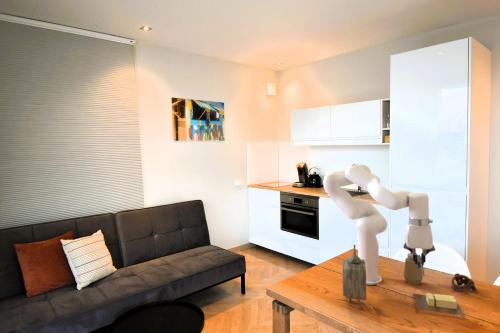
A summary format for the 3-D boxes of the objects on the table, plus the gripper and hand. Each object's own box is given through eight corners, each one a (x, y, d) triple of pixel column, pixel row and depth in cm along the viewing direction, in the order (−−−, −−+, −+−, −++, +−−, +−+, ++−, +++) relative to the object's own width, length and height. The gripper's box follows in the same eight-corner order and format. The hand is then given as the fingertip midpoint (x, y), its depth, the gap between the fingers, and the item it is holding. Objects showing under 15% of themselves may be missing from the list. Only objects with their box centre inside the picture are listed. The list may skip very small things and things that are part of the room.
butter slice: (428, 305, 125) (428, 298, 125) (426, 299, 130) (426, 292, 130) (434, 306, 124) (434, 299, 124) (431, 300, 129) (431, 293, 129)
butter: (436, 306, 124) (436, 299, 124) (433, 300, 129) (433, 293, 129) (456, 309, 122) (456, 302, 121) (453, 303, 126) (453, 296, 126)
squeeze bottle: (421, 281, 149) (422, 245, 148) (423, 288, 142) (423, 250, 141) (403, 279, 153) (403, 243, 151) (403, 286, 145) (403, 248, 144)
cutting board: (417, 312, 123) (417, 309, 123) (412, 295, 136) (412, 293, 136) (464, 318, 117) (464, 315, 117) (454, 301, 130) (454, 298, 130)
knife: (421, 276, 121) (420, 269, 121) (415, 260, 138) (415, 254, 138) (426, 276, 121) (426, 270, 120) (420, 260, 137) (420, 255, 137)
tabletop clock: (366, 312, 124) (366, 251, 122) (343, 309, 126) (342, 250, 125) (364, 295, 138) (363, 240, 136) (343, 293, 140) (342, 239, 139)
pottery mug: (483, 297, 134) (477, 283, 132) (462, 304, 136) (455, 291, 134) (467, 278, 145) (461, 265, 143) (447, 286, 147) (441, 273, 145)
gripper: (438, 220, 133) (438, 262, 134) (397, 219, 139) (398, 258, 140) (441, 224, 126) (442, 268, 127) (398, 222, 132) (399, 264, 133)
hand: (419, 263), depth 133 cm, fingers closed on knife, 2 cm apart
